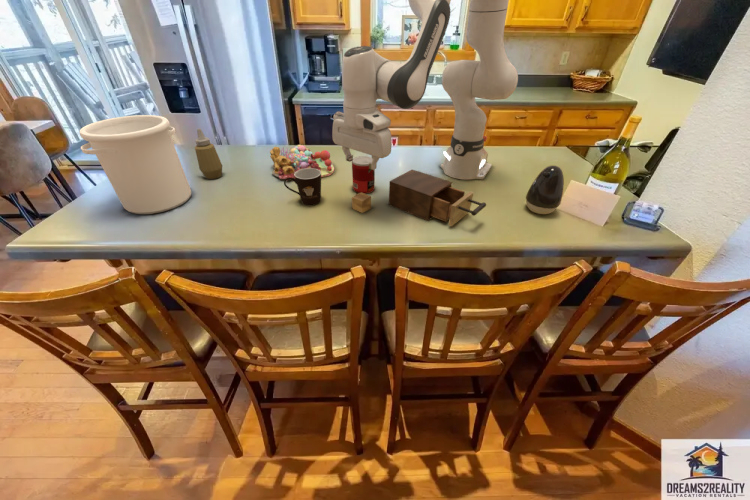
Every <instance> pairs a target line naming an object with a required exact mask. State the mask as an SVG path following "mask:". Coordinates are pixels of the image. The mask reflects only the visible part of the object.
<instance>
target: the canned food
mask: <svg viewBox="0 0 750 500" xmlns="http://www.w3.org/2000/svg"><path fill="white" fill-rule="evenodd" d="M372 161H373V159H372V156H365V155H364V156H363V155H360V156H356V157H353V161H351V174H352V175H351V176H352V189H353V191H354V192H355V193H357V194H359V193H361V192H362V193H364V194H370V193H372V192H374V190H375V184H376V183H375V179H376V177H375V175H376V174H375V173H376V172H375V171H376V169H374V170H372V169H369V163H371V162H372Z"/></svg>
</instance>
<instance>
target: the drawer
mask: <svg viewBox="0 0 750 500" xmlns="http://www.w3.org/2000/svg"><path fill="white" fill-rule="evenodd" d="M473 197H474V192H473V191H469V192H467V193H465V191H464V190H461V189H459V188H455V187H453V186H451V187H447V188H446V189H444V190H443V191H441V192H440V193H438V194H437V195H435V196H433V197H432V203H431V210H430V216H433V217H432V218H435V219H437V220H441V221H443V222H448V224H447V225H448V226H450V227H453V226H454V225H455V224H457V223H458V222H459V221H460V220H461V219H463V218H464V217H465V216H467V214H471V216H473V217H474V216H475V217H476V216H477V215H478V214H479V213H480V212H481V211H482V210H483V209H484V208H486V206H487V203H486V202H479V201H476V200H473ZM472 204H475V205H477V207H475V208H474V209H473V210H471V206H472Z"/></svg>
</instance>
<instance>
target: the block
mask: <svg viewBox="0 0 750 500" xmlns="http://www.w3.org/2000/svg"><path fill="white" fill-rule="evenodd" d="M351 205H352V210H355V211H356V212H359V213H361V214H364V213H366V212H367V211H369V210H370V209H372V195H369V194H368V193H365V194H364V193H362V192H361V193H357V194H355V195H352V196H351Z"/></svg>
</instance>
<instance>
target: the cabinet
mask: <svg viewBox="0 0 750 500" xmlns="http://www.w3.org/2000/svg"><path fill="white" fill-rule="evenodd" d="M388 187H389V189H388V205H389V206H391V207H393V208H396V209H397V210H400V211H403V212H405V213H408V214H410V215H413V216H415V217H418V218H419V219H420V218H421V219H422V220H425V221H430V220H431V219H433V218H434V217H433V216H430V210H431V203H432V197H433V196H435V195H437V194H438V193H440V192H441V191H443V190H444V189H446V188H447V187H453V182H452V181H450V180H447V179H443V178H441V177H437V176H435V175H431V174H427V173H425V172H421V171H419V170H416V169H410V170H408V171H406V172H404V173H403V174H400V175H398V176H396V177H395V178H393V179H390V180H389V184H388Z"/></svg>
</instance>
